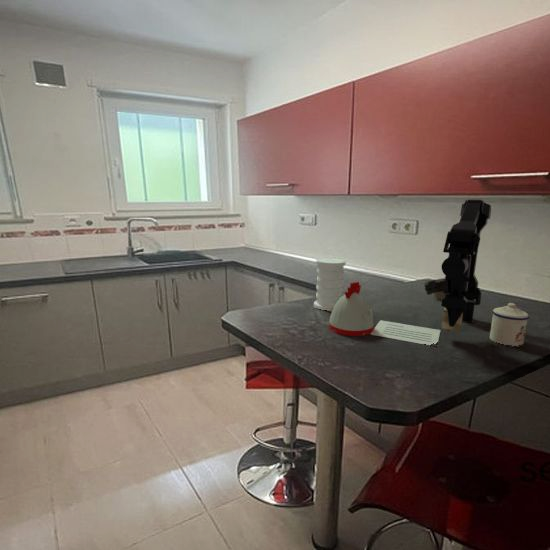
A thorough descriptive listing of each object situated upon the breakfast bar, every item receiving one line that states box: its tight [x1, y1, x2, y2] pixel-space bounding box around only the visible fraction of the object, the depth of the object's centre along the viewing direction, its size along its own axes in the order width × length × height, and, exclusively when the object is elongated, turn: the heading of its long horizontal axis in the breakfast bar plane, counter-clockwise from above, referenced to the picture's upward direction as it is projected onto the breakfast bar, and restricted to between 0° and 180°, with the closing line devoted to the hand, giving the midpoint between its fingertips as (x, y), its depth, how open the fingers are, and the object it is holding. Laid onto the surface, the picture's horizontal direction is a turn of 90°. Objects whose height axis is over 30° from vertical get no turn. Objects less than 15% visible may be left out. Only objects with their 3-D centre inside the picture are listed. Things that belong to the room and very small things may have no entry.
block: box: [441, 307, 463, 332], centre depth 108 cm, size 5×5×5 cm
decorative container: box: [313, 257, 346, 312], centre depth 139 cm, size 12×12×18 cm
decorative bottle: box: [433, 291, 446, 302], centre depth 161 cm, size 26×8×7 cm, turn 147°
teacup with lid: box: [489, 302, 530, 347], centre depth 109 cm, size 12×9×12 cm
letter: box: [369, 319, 442, 346], centre depth 115 cm, size 19×15×1 cm
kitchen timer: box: [328, 281, 374, 337], centre depth 116 cm, size 14×14×15 cm
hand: (451, 323), depth 108 cm, fingers closed on block, 5 cm apart
